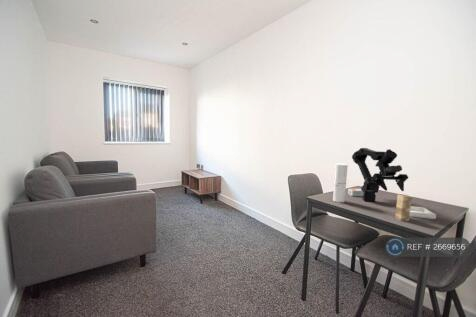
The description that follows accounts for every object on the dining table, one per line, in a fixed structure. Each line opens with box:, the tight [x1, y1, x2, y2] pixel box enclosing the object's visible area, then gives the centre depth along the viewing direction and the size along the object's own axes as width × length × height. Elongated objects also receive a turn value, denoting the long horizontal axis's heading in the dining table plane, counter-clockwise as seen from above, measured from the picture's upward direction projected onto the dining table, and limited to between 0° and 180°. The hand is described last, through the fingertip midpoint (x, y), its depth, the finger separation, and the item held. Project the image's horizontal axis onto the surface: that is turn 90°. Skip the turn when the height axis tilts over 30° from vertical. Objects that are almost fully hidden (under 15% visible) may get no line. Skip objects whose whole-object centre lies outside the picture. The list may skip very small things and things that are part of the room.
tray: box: [409, 205, 437, 220], centre depth 130 cm, size 12×12×3 cm
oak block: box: [394, 194, 413, 222], centre depth 121 cm, size 4×4×13 cm
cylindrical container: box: [332, 162, 349, 203], centre depth 151 cm, size 7×7×25 cm
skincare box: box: [347, 188, 364, 197], centre depth 167 cm, size 6×4×12 cm
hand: (394, 190), depth 128 cm, fingers open, 9 cm apart
